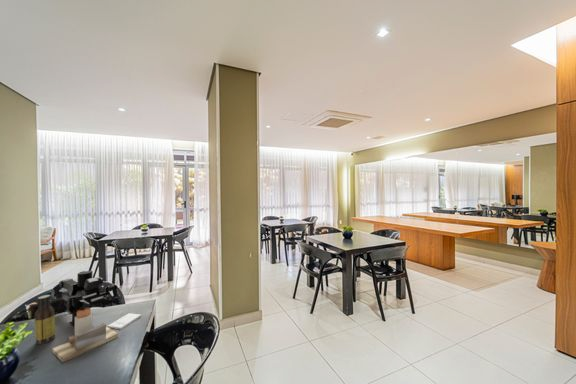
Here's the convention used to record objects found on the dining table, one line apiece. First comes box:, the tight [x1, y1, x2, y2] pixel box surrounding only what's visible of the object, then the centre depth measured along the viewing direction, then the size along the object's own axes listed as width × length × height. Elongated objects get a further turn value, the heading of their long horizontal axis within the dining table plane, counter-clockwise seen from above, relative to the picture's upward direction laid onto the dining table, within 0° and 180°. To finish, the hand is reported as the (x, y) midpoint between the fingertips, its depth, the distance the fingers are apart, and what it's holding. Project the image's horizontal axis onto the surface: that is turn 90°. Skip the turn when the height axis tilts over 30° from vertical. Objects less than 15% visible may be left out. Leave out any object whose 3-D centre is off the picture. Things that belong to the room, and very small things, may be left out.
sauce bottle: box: [34, 294, 56, 345], centre depth 105 cm, size 6×6×20 cm
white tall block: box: [74, 308, 93, 336], centre depth 105 cm, size 5×5×12 cm
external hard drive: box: [106, 312, 142, 330], centre depth 121 cm, size 2×8×12 cm
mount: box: [52, 323, 119, 363], centre depth 103 cm, size 12×19×8 cm, turn 149°
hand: (101, 301), depth 108 cm, fingers open, 9 cm apart
